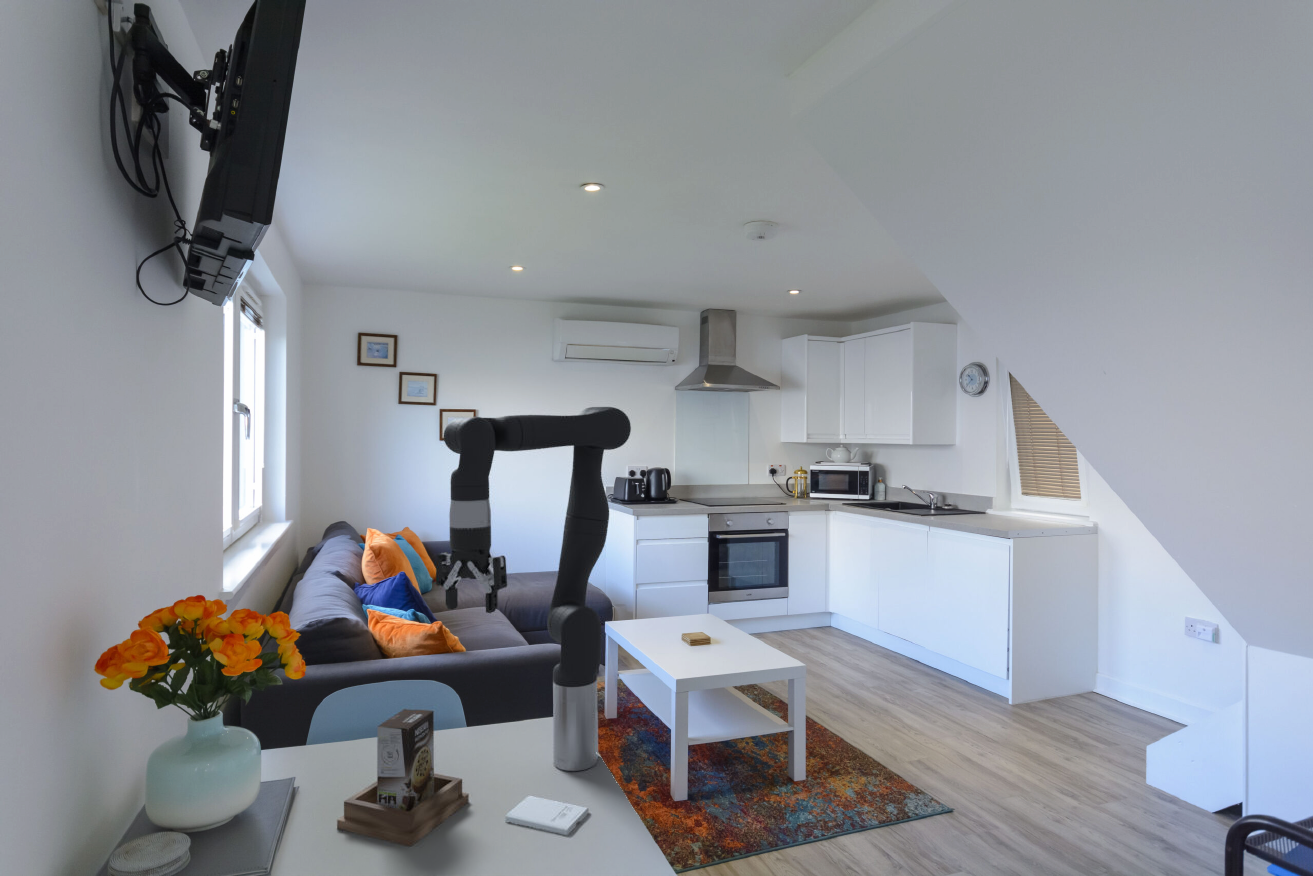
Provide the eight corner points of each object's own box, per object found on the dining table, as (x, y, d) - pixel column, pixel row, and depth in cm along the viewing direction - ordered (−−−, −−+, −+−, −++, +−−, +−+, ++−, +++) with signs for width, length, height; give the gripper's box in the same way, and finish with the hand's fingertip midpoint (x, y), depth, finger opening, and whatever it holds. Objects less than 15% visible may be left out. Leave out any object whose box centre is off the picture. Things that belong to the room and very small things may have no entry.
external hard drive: (529, 803, 138) (588, 815, 133) (505, 824, 130) (567, 838, 126) (529, 794, 138) (588, 806, 133) (505, 815, 130) (566, 828, 126)
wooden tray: (400, 787, 143) (400, 764, 143) (468, 801, 138) (468, 777, 138) (337, 828, 129) (336, 802, 129) (410, 846, 123) (410, 819, 123)
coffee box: (408, 821, 128) (408, 729, 128) (376, 817, 129) (375, 726, 129) (435, 796, 137) (435, 709, 137) (404, 792, 138) (404, 707, 138)
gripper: (514, 522, 138) (515, 608, 138) (451, 520, 143) (452, 603, 143) (491, 527, 131) (492, 618, 131) (426, 524, 136) (427, 612, 136)
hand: (471, 610), depth 137 cm, fingers open, 8 cm apart
